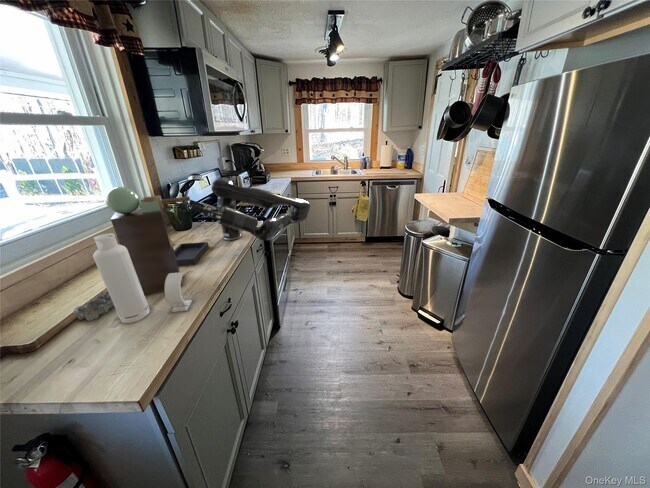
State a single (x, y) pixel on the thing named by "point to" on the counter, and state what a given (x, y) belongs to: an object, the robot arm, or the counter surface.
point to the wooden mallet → (165, 200)
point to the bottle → (120, 278)
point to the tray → (190, 253)
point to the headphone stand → (175, 292)
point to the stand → (147, 247)
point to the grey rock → (94, 307)
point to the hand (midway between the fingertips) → (190, 204)
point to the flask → (128, 201)
